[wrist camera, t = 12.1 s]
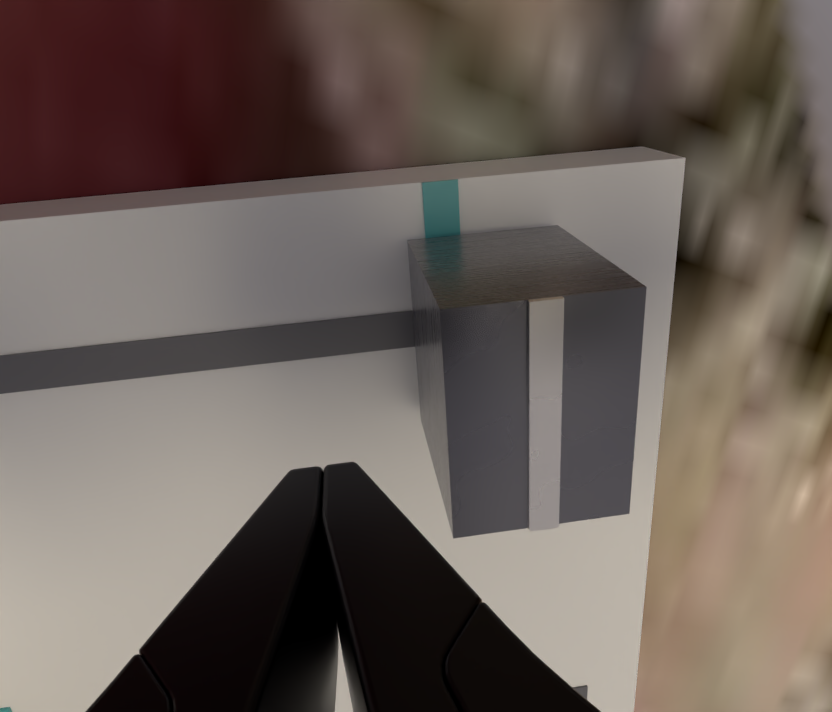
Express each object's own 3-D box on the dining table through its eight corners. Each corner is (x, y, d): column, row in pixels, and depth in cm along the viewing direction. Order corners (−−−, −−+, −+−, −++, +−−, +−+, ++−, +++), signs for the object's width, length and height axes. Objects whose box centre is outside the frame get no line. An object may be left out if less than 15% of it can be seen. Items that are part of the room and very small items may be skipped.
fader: (554, 402, 15) (631, 517, 11) (421, 419, 15) (454, 542, 11) (557, 224, 13) (650, 288, 9) (407, 239, 13) (441, 311, 9)
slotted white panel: (605, 699, 23) (630, 757, 21) (-82, 812, 21) (-122, 887, 19) (642, 146, 15) (687, 158, 13) (-421, 242, 13) (-543, 272, 11)
